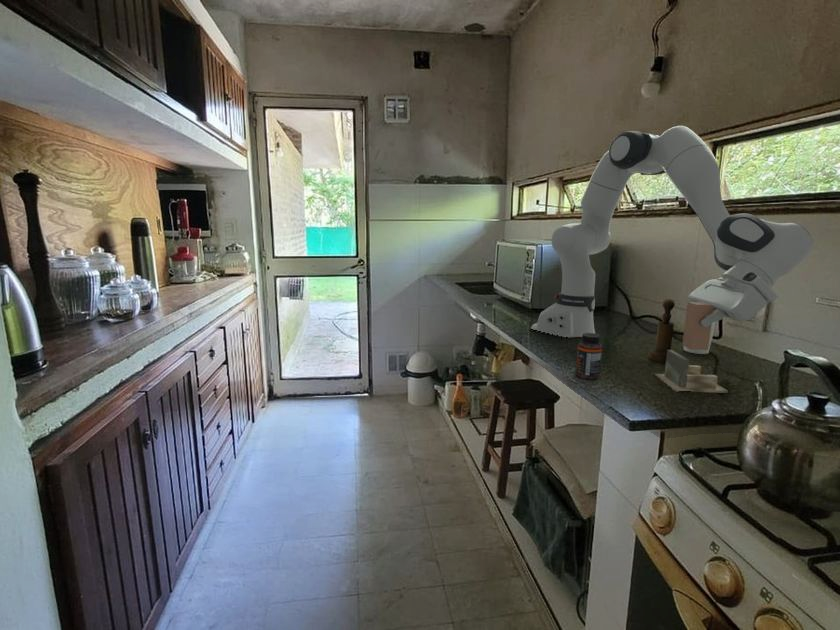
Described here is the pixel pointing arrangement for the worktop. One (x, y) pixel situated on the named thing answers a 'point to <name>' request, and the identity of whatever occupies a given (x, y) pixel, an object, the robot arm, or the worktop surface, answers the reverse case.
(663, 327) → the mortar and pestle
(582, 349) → the supplement bottle
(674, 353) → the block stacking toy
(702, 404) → the worktop surface
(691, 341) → the pink rectangular block
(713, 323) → the white cup
